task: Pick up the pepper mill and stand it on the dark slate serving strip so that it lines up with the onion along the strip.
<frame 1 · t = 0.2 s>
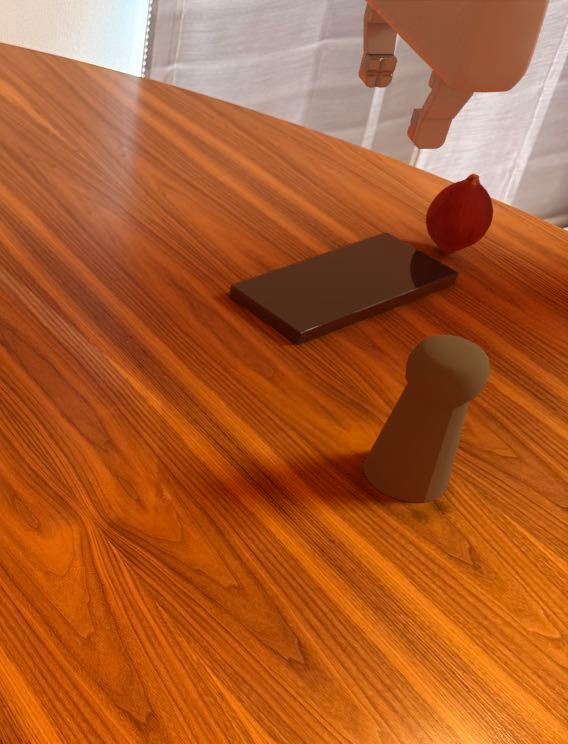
hand: (396, 112, 61), 23 cm above the table, tool pointing down, fingers open, 8 cm apart
onion: (445, 254, 95), on the table
slate strip: (343, 290, 89), on the table
pepper mill: (404, 476, 71), on the table
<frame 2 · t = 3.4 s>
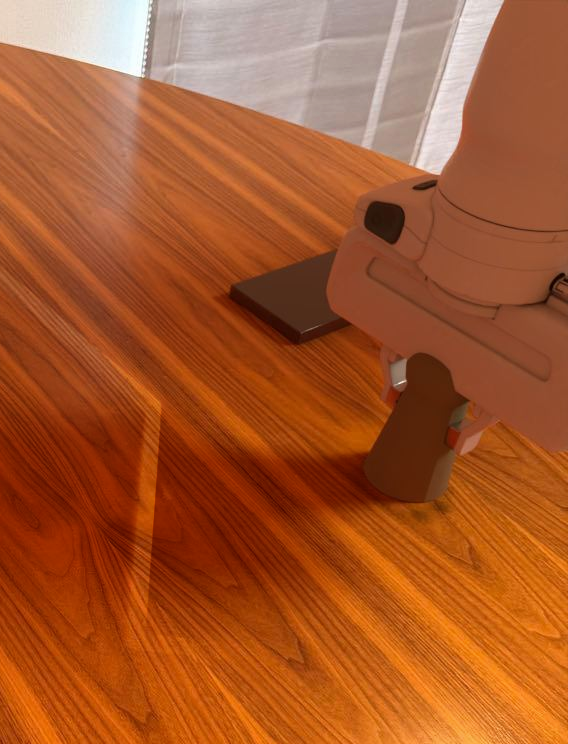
hand: (424, 424, 68), 5 cm above the table, tool pointing down, fingers closed on pepper mill, 4 cm apart
pepper mill: (404, 476, 71), on the table, touching gripper
everything else where it was.
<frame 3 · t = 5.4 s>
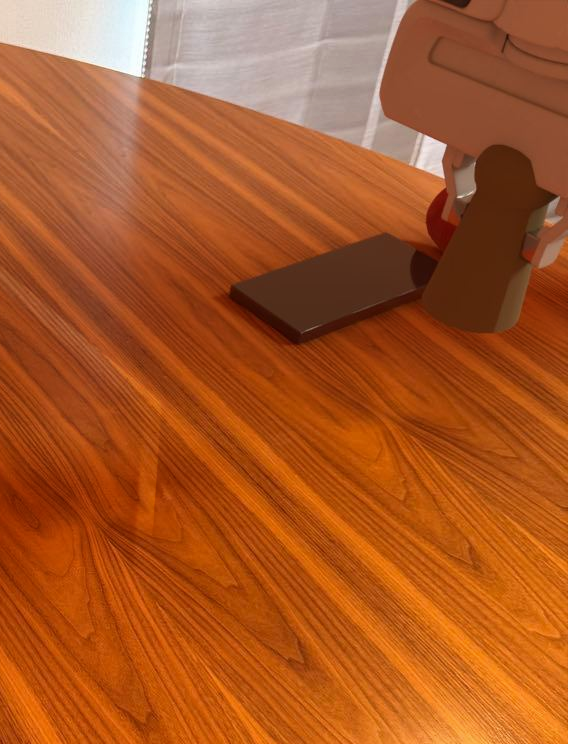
hand: (494, 241, 60), 18 cm above the table, tool pointing down, fingers closed on pepper mill, 4 cm apart
pepper mill: (468, 310, 63), point 13 cm above the table, touching gripper
everything else where it was.
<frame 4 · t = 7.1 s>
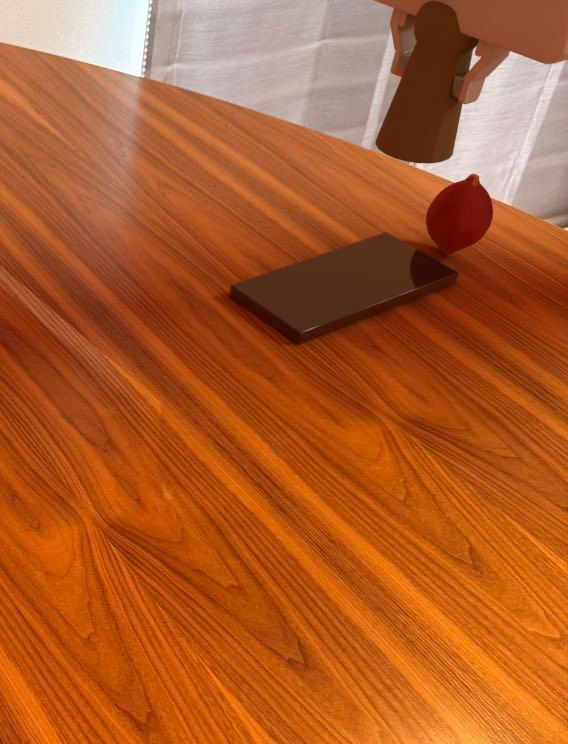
hand: (432, 87, 75), 19 cm above the table, tool pointing down, fingers closed on pepper mill, 4 cm apart
pepper mill: (413, 149, 78), point 14 cm above the table, touching gripper
everything else where it was.
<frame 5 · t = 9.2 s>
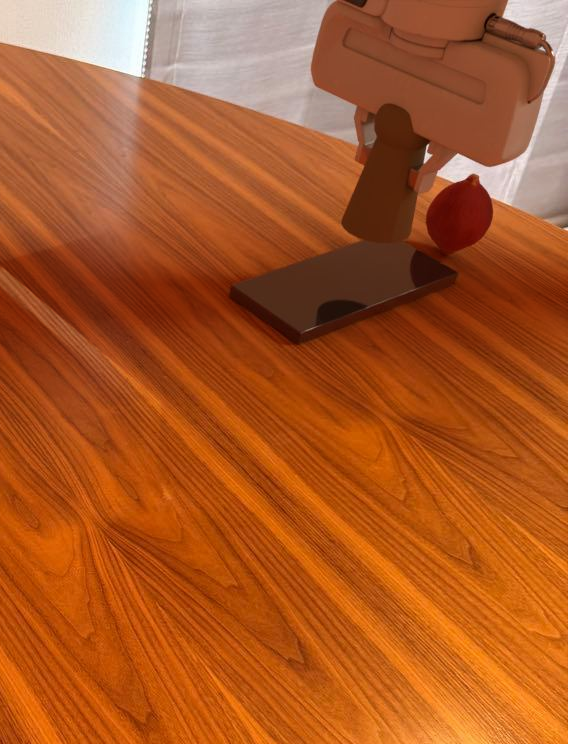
hand: (391, 176, 83), 10 cm above the table, tool pointing down, fingers closed on pepper mill, 4 cm apart
pepper mill: (375, 228, 86), point 6 cm above the table, touching gripper
everything else where it was.
when the fingers open (6 cm above the table, at t = 10.7 s): pepper mill stays where it is, resting on slate strip.
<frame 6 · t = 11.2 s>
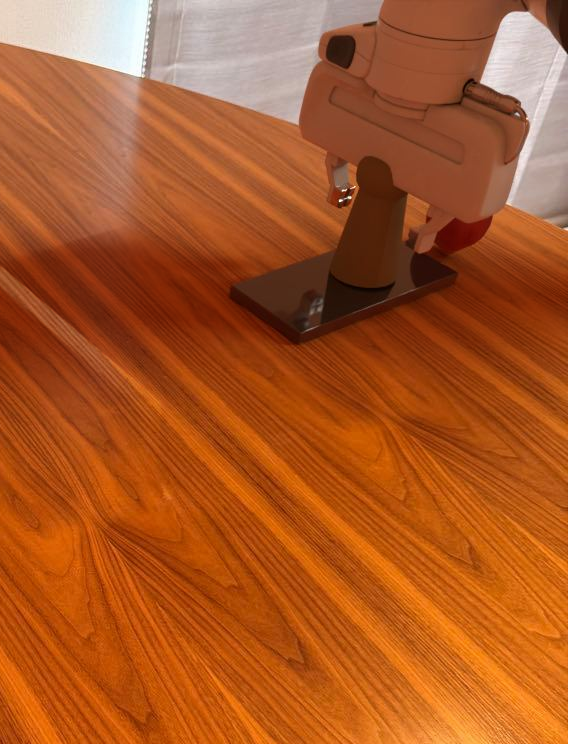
hand: (376, 226, 86), 6 cm above the table, tool pointing down, fingers open, 8 cm apart
pepper mill: (362, 273, 89), point 1 cm above the table, touching slate strip
everything else where it was.
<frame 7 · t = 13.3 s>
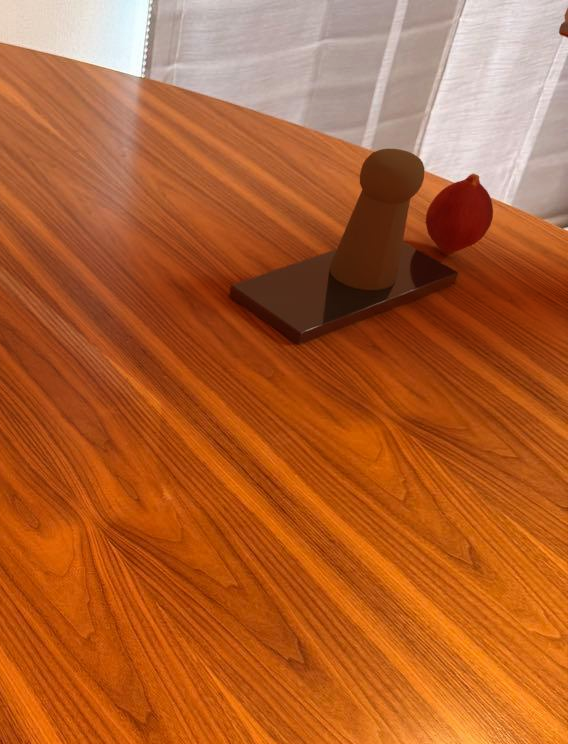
hand: (511, 14, 61), 27 cm above the table, tool pointing down, fingers open, 8 cm apart
nothing on the table moved.
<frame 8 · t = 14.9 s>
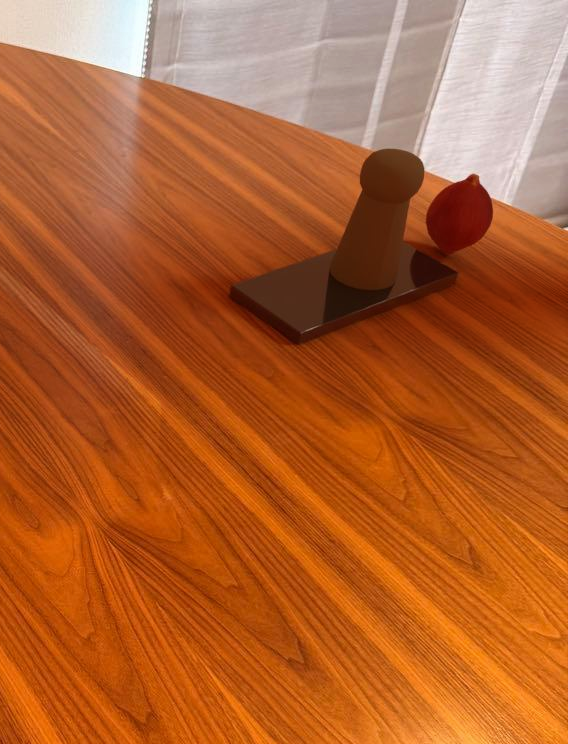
nothing on the table moved.
at the end: pepper mill 0.0 cm from the target spot on the table beside the onion, point 1.2 cm above the table; pepper mill inside the target area on the slate strip (2.0 cm from its centre), point 1.0 cm above the slate strip's base; pepper mill tilted 0° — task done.
